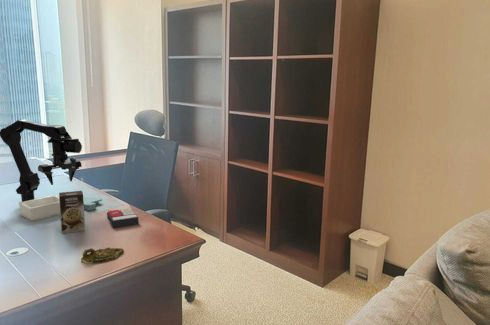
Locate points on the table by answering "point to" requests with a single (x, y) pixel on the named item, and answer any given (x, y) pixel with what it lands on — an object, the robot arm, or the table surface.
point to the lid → (90, 202)
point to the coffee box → (72, 211)
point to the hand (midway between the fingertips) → (61, 183)
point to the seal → (101, 255)
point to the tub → (40, 208)
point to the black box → (122, 218)
